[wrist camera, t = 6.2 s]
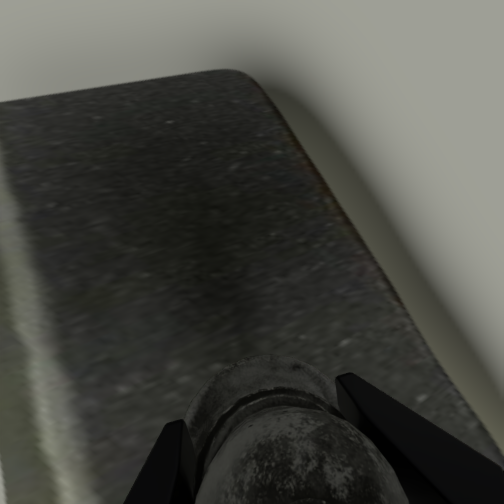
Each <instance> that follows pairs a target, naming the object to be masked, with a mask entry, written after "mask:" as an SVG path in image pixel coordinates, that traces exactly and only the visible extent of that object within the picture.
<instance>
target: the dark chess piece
mask: <svg viewBox="0 0 504 504" xmlns="http://www.w3.org/2000/svg"><path fill="white" fill-rule="evenodd" d="M183 420H184V421H185V423H186V425H187V428H188V431H189V434H190V437H191V440H192V443H193V447H194V453H195V463H196V469H195V475H194V480H193V496H194V504H409V501H408V499H407V497H406V494H405V492H404V490H403V488H402V486H401V484H400V482H399V480H398V478H397V476H396V474H395V472H394V470H393V468H392V467H391V465H390V464H389V462H388V461H387V460H386V459H385V457H384V456H383V455H382V454H381V452H380V451H379V450H378V449H377V447H376V446H375V445H374V444H373V442H372V441H371V440H370V439H369V438H368V437H367V436H365V435H364V434H363V433H362V432H360V431H359V430H358V429H356V428H355V427H354V426H353V425H351V424H350V423H349V422H348V421H347V420H346V419H345V417H344V416H343V415H342V414H341V412H340V410H339V406H338V402H337V393H336V384H335V383H334V382H333V381H332V380H331V379H330V378H328V377H327V376H326V375H324V374H323V373H322V372H320V371H319V370H318V369H316V368H315V367H314V366H311V365H309V364H307V363H304V362H302V361H300V360H297V359H295V358H293V357H286V356H278V355H271V354H268V355H261V356H253V357H247V358H244V359H242V360H240V361H237V362H235V363H233V364H230V365H228V366H226V367H225V368H223V369H222V370H221V371H219V372H218V373H217V374H216V375H214V376H213V377H212V378H211V379H209V380H208V381H207V382H206V383H205V384H204V386H203V387H202V388H201V390H200V391H199V392H198V394H197V395H196V396H195V397H194V399H193V400H192V401H191V403H190V405H189V408H188V410H187V412H186V414H185V417H184V419H183Z"/></svg>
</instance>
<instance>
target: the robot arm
mask: <svg viewBox="0 0 504 504" xmlns="http://www.w3.org/2000/svg"><path fill="white" fill-rule="evenodd" d="M335 384H336V393H337V402H338V406H339V410H340V412H341V414H342V415H343V416H344V417H345V419H346V420H347V421H348V422H349V423H350V424H351V425H353V426H354V427H355V428H356V429H358V430H359V431H360V432H362V433H363V434H364V435H365V436H367V437H368V438H369V439H370V440H371V441H372V442H373V444H374V445H375V446H376V447H377V449H378V450H379V451H380V452H381V454H382V455H383V456H384V457H385V459H386V460H387V461H388V462H389V464H390V465H391V467H392V468H393V470H394V472H395V474H396V476H397V478H398V480H399V482H400V484H401V486H402V488H403V490H404V492H405V494H406V497H407V499H408V501H409V504H504V471H503V468H502V467H501V466H500V465H498V464H497V463H495V462H493V461H492V460H490V459H489V458H487V457H486V456H484V455H482V454H481V453H479V452H478V451H476V450H474V449H473V448H471V447H470V446H468V445H467V444H465V443H463V442H462V441H460V440H459V439H457V438H455V437H454V436H452V435H451V434H449V433H447V432H446V431H444V430H443V429H441V428H440V427H438V426H436V425H435V424H433V423H432V422H430V421H428V420H427V419H425V418H424V417H422V416H421V415H419V414H417V413H416V412H414V411H413V410H411V409H409V408H408V407H406V406H405V405H403V404H402V403H400V402H398V401H397V400H395V399H394V398H392V397H390V396H389V395H387V394H386V393H384V392H382V391H381V390H379V389H378V388H376V387H375V386H373V385H371V384H370V383H368V382H367V381H365V380H363V379H362V378H360V377H359V376H357V375H356V374H354V373H346V374H342V375H338V376H337V377H336V379H335ZM195 469H196V463H195V453H194V447H193V443H192V440H191V437H190V434H189V431H188V428H187V425H186V423H185V421H184V420H183V419H180V420H176V421H173V422H169V423H167V424H166V425H165V426H164V428H163V430H162V432H161V433H160V435H159V437H158V439H157V441H156V443H155V445H154V447H153V449H152V450H151V452H150V454H149V456H148V458H147V460H146V462H145V464H144V465H143V467H142V469H141V471H140V473H139V475H138V477H137V479H136V480H135V482H134V484H133V486H132V488H131V490H130V492H129V494H128V495H127V497H126V499H125V501H124V503H123V504H194V496H193V480H194V475H195Z"/></svg>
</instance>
